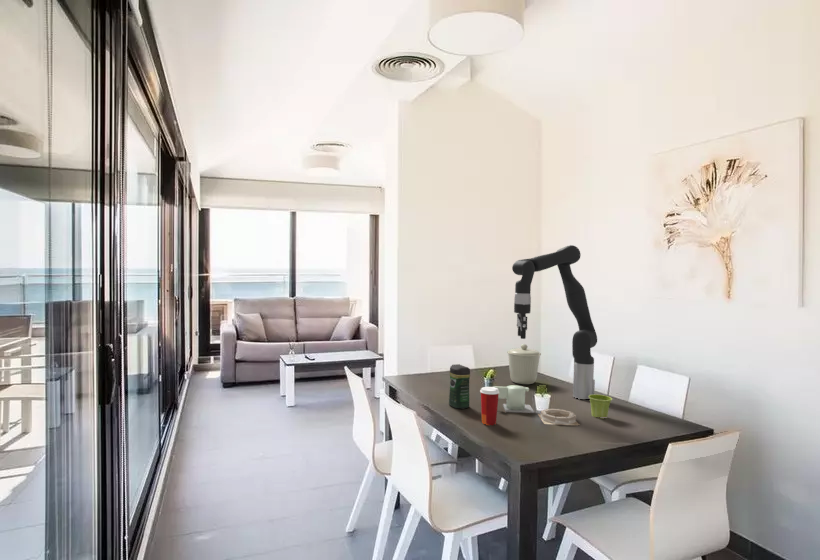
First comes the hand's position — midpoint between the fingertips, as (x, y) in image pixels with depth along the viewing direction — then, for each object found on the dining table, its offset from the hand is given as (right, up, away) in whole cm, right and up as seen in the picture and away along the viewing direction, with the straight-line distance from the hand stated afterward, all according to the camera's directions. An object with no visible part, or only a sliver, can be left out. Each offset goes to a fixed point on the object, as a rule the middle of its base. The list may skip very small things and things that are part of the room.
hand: (521, 337), depth 235 cm
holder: (+9, -31, -29) cm, 43 cm away
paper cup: (-21, -31, -34) cm, 50 cm away
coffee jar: (-30, -30, -10) cm, 44 cm away
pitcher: (-8, -29, -14) cm, 34 cm away
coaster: (-5, -30, -14) cm, 34 cm away
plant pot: (+28, -32, -23) cm, 48 cm away
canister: (+10, -30, +39) cm, 50 cm away
